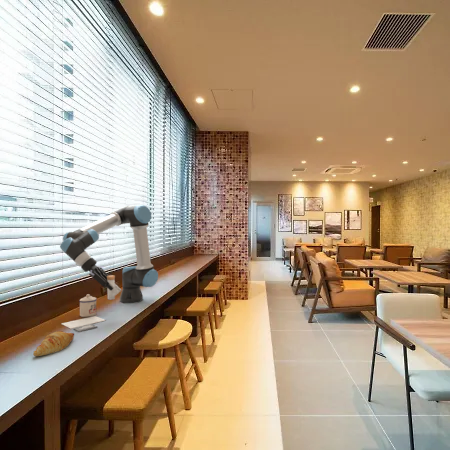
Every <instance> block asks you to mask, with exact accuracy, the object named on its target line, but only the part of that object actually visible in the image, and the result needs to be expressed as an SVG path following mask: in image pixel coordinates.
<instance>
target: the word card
mask: <svg viewBox="0 0 450 450" xmlns="http://www.w3.org/2000/svg"><path fill="white" fill-rule="evenodd" d="M97 328H98V326H97V325H96V324H90V325H85V326H81V327H77V328H73V331H75V332H77V333H83V332H85V331H88V330H89V331H90V330H94V329H97Z"/></svg>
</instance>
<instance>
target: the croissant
mask: <svg viewBox="0 0 450 450" xmlns="http://www.w3.org/2000/svg"><path fill="white" fill-rule="evenodd" d="M74 337H75V333H74V332H65V331H64V330H63V331H54V332H51V333H49V334H47V335H46V336H45V337H44V339H43V340H42V341H41V342H40V344H39V345H38V346H37V347H36V349H35V350H34V351H33V357H42V356H47V355H50V354H55V353H57V352H61V351H62V350H64V349H65V348H67V347H68V346H69V345H70V344H71V343H72V341H73V340H74Z"/></svg>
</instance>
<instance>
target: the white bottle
mask: <svg viewBox="0 0 450 450" xmlns="http://www.w3.org/2000/svg"><path fill="white" fill-rule="evenodd" d="M115 278H116V275H112V274H111V275H109V276H107V281H108V282H109V284H110V283H111V284H112V285H113V286H114V287H115V284H116V283H115V282H116V281H115ZM106 289H107V291H106V292H107V300H108V301H109V300H111V301H112V300H115V298H116V296H115V295H114V294H113V293H112V292H111V291H110V290H109V289H108V288H107V287H106Z"/></svg>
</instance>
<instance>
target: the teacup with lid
mask: <svg viewBox="0 0 450 450" xmlns="http://www.w3.org/2000/svg"><path fill="white" fill-rule="evenodd" d="M97 301H98V300H97V297H95V296H92V295H91V294H89V293H88V294H86V296H84V297H82V298H80V299H79V301H78V302H79V316H80V318H81V317H82V318H88V317H93V316H96V315H97Z"/></svg>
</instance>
